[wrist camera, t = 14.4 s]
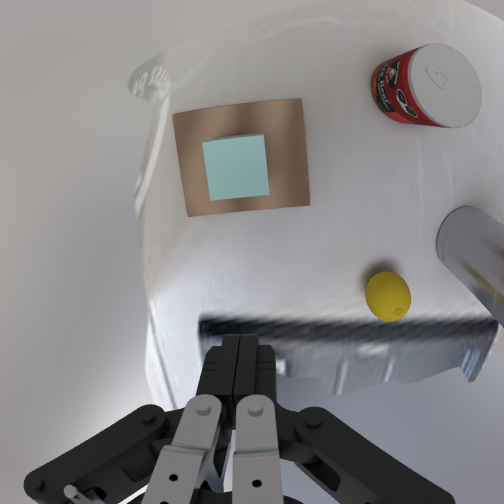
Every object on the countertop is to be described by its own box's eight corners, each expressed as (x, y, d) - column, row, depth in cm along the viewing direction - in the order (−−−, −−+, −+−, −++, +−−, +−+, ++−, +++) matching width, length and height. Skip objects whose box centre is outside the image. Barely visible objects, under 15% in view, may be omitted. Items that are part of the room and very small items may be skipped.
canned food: (375, 50, 28) (416, 28, 18) (433, 75, 28) (486, 68, 18) (362, 110, 31) (402, 107, 21) (421, 132, 31) (474, 141, 21)
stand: (300, 99, 31) (310, 92, 24) (309, 203, 36) (320, 225, 28) (174, 114, 32) (150, 113, 25) (189, 215, 37) (171, 238, 30)
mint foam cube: (263, 132, 31) (263, 135, 25) (268, 180, 33) (269, 194, 27) (214, 138, 31) (202, 142, 25) (220, 185, 33) (210, 200, 27)
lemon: (358, 264, 38) (377, 297, 31) (397, 258, 38) (422, 289, 31) (358, 300, 41) (374, 337, 33) (395, 294, 40) (416, 328, 33)
